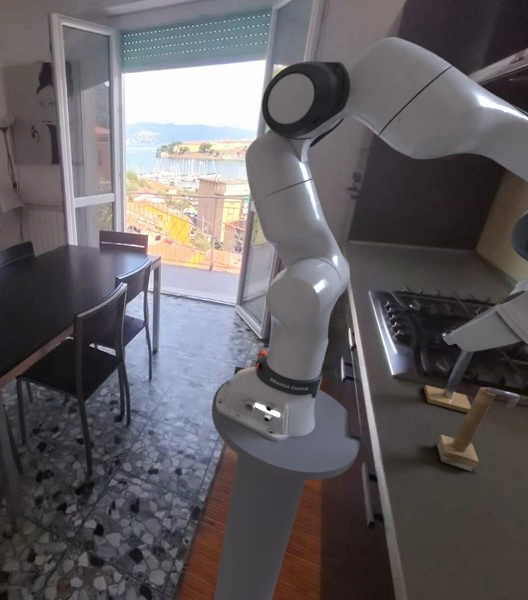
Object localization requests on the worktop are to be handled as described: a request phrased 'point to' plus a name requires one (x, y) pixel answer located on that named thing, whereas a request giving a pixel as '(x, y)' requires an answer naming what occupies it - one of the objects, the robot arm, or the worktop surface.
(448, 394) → the wood and metal stand
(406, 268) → the worktop surface
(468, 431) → the wooden post on base
